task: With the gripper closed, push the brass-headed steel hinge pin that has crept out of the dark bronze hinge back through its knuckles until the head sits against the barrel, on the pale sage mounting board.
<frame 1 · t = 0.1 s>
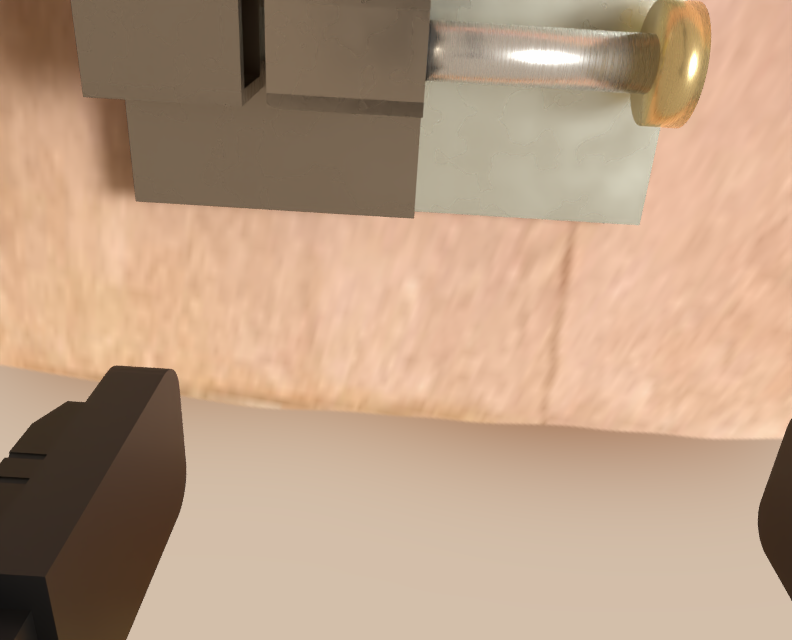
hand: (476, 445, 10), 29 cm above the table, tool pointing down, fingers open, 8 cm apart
hinge: (347, 33, 35), on the table
hinge pin: (499, 55, 31), point 5 cm above the table, slide at 9.0 cm
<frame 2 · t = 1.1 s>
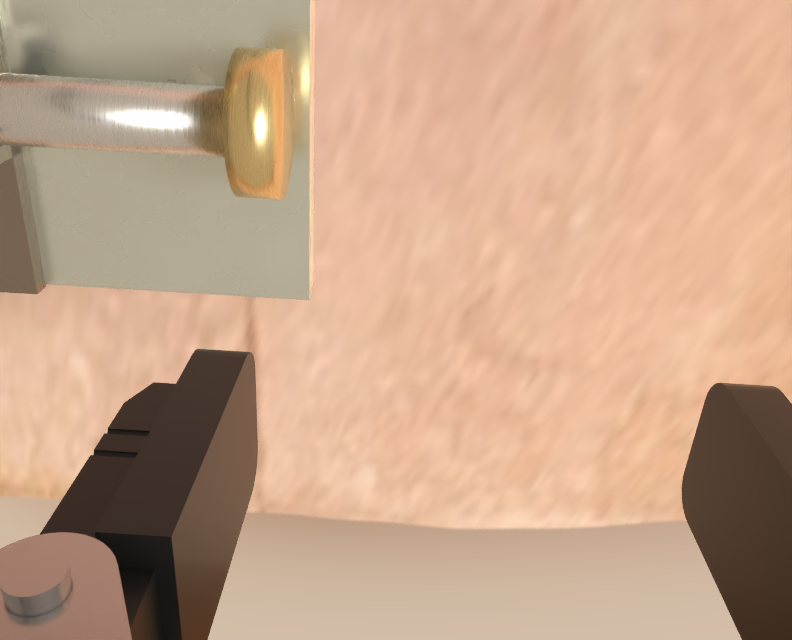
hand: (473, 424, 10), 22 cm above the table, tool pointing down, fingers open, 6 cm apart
hinge pin: (58, 112, 26), point 4 cm above the table, slide at 9.0 cm
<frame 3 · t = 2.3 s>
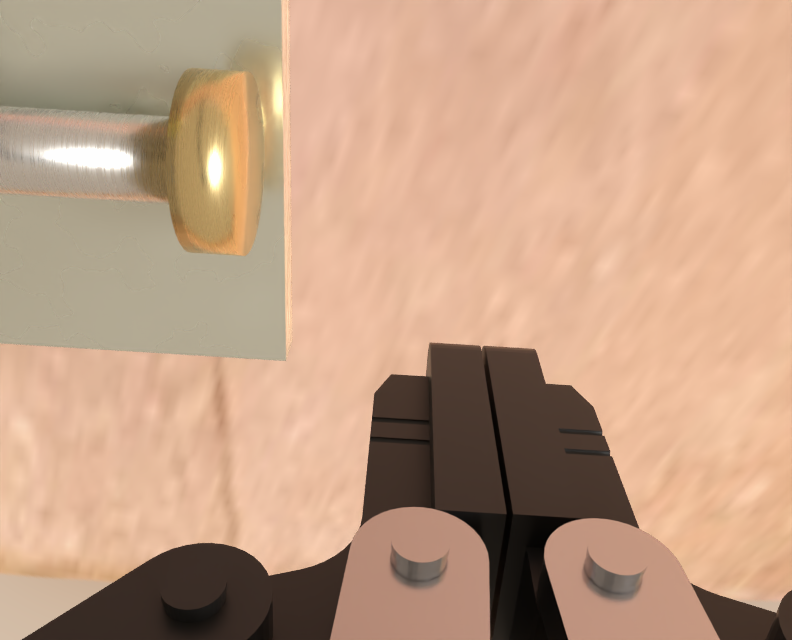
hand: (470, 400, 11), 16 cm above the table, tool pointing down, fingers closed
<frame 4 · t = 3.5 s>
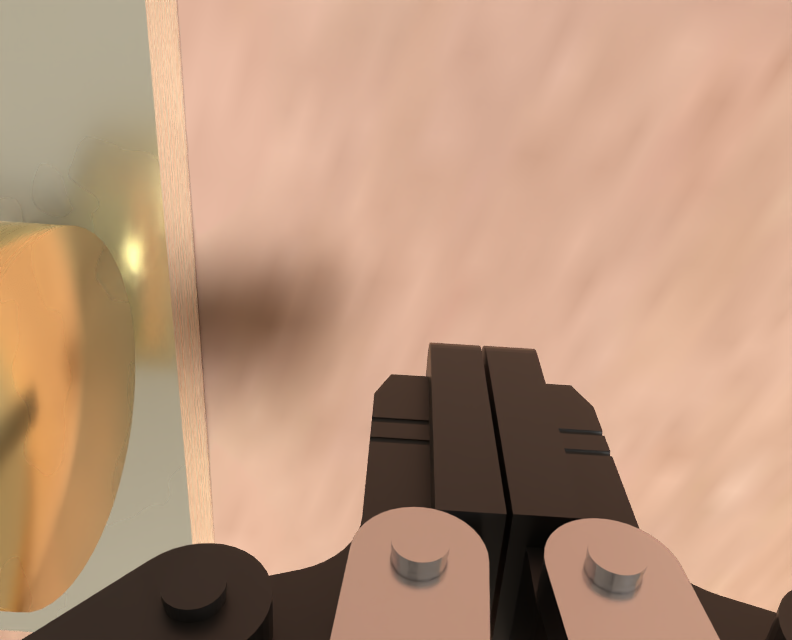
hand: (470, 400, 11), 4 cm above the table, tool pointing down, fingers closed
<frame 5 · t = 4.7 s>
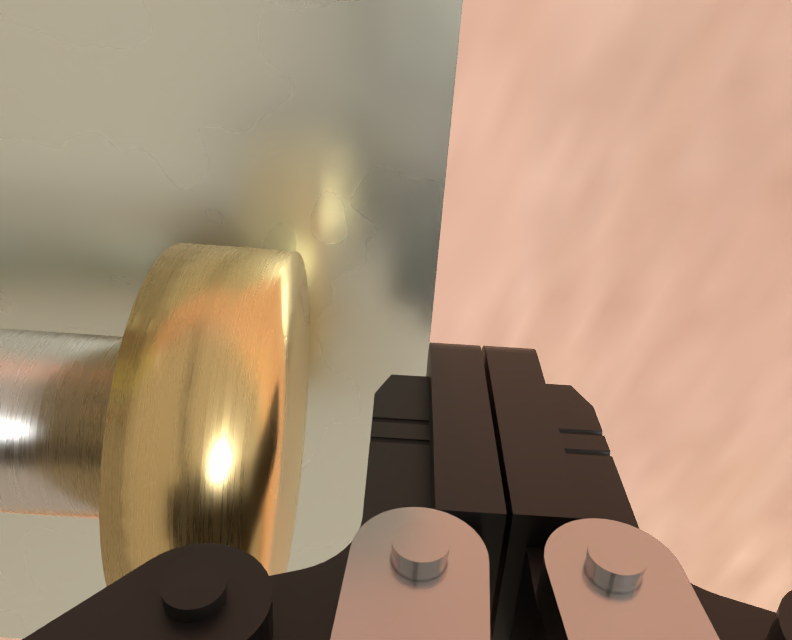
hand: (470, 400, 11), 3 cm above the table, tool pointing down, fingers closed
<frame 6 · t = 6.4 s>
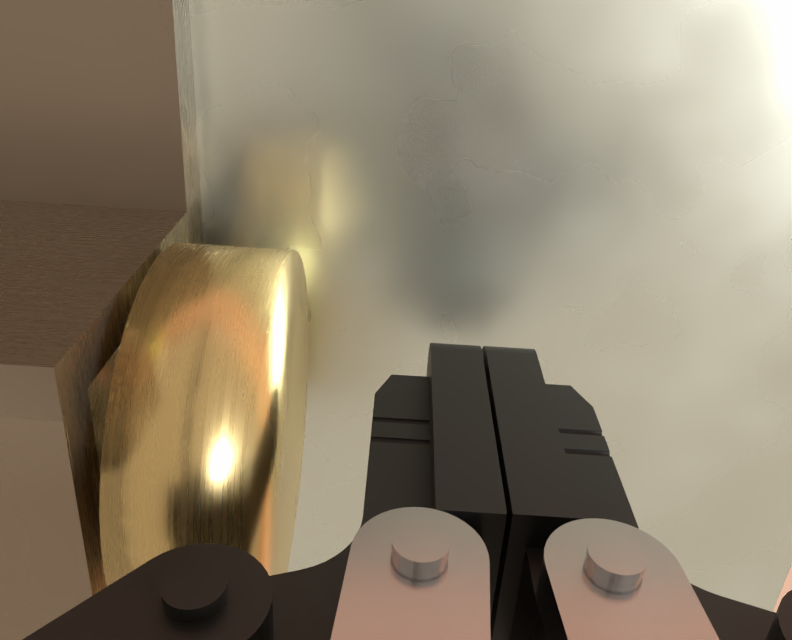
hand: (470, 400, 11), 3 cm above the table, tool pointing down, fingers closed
hinge: (30, 277, 14), on the table
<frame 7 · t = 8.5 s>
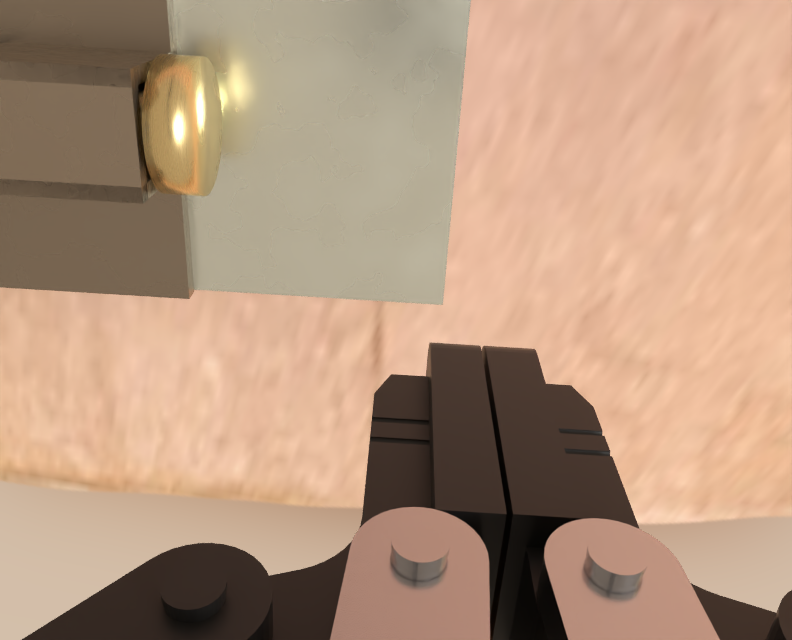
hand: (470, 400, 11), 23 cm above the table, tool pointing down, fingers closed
hinge: (104, 97, 32), on the table
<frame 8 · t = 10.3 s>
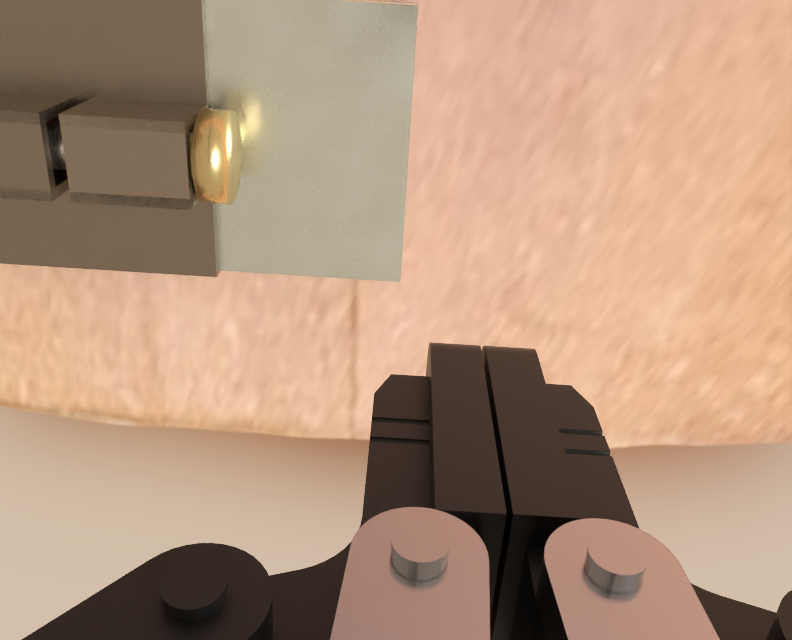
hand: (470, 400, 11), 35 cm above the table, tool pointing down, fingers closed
hinge: (157, 132, 44), on the table
hinge pin: (89, 148, 40), point 5 cm above the table, slide at 0.0 cm
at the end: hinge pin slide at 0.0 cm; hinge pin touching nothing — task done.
